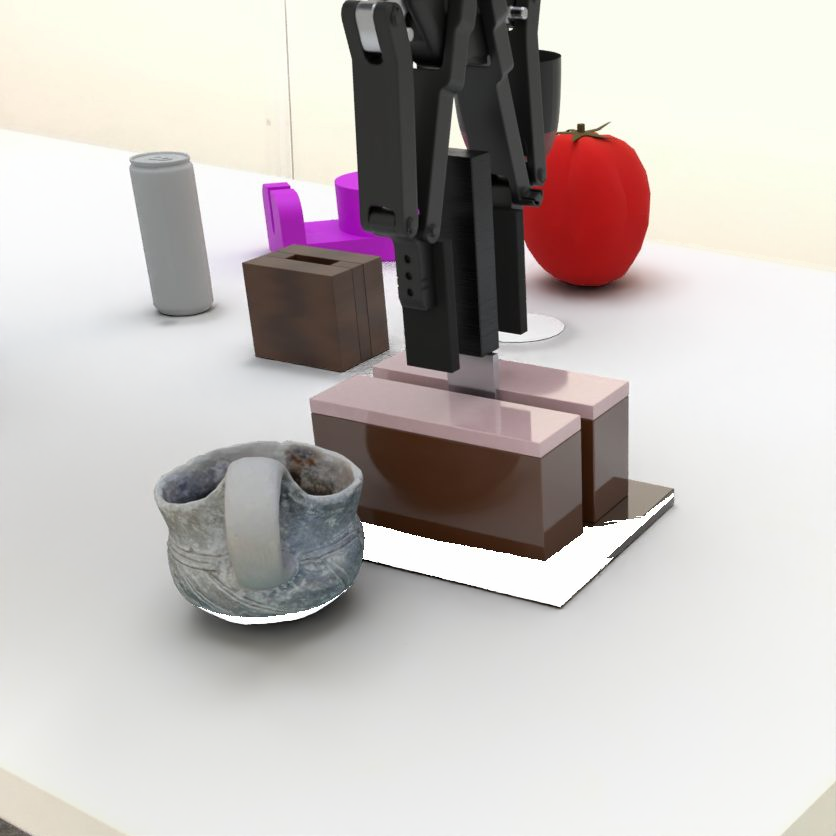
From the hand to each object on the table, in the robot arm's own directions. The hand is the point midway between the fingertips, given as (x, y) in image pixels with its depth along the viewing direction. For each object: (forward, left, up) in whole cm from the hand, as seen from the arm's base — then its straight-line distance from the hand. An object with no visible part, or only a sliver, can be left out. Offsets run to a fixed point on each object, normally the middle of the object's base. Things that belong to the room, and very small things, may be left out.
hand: (469, 346), depth 70 cm
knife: (0, 0, -9) cm, 9 cm away
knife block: (-26, +20, -10) cm, 34 cm away
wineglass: (-16, +32, -10) cm, 37 cm away
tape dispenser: (-41, +46, -10) cm, 62 cm away
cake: (0, 0, -10) cm, 10 cm away
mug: (-3, -14, -10) cm, 18 cm away
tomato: (-17, +46, -10) cm, 50 cm away
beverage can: (-43, +24, -10) cm, 50 cm away
